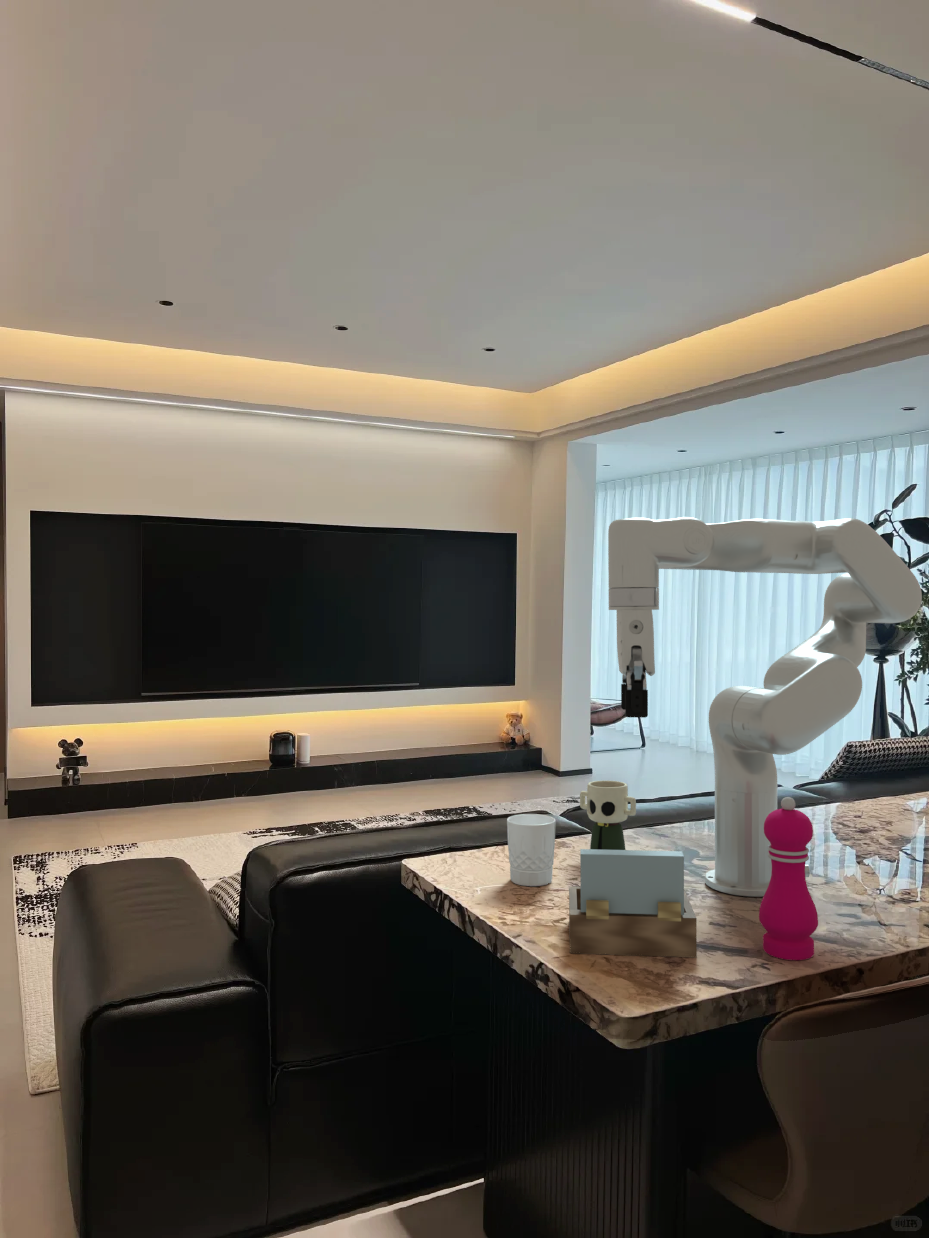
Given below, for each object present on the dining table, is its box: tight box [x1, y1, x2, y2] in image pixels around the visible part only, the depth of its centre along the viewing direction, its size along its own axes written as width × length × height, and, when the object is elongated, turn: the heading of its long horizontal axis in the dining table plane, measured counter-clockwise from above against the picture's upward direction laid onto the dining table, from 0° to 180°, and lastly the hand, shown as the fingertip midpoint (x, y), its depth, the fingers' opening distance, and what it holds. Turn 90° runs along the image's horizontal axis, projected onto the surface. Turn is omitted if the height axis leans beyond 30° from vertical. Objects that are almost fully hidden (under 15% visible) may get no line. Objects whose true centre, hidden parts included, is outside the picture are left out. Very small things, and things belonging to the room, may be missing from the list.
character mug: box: [579, 780, 637, 850], centre depth 165 cm, size 11×7×13 cm, turn 54°
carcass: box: [568, 885, 698, 958], centre depth 124 cm, size 16×13×7 cm
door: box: [579, 848, 685, 915], centre depth 120 cm, size 13×3×8 cm, turn 84°
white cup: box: [506, 813, 556, 887], centre depth 151 cm, size 8×8×10 cm
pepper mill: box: [758, 796, 819, 961], centre depth 120 cm, size 7×7×20 cm
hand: (634, 713), depth 141 cm, fingers open, 9 cm apart
